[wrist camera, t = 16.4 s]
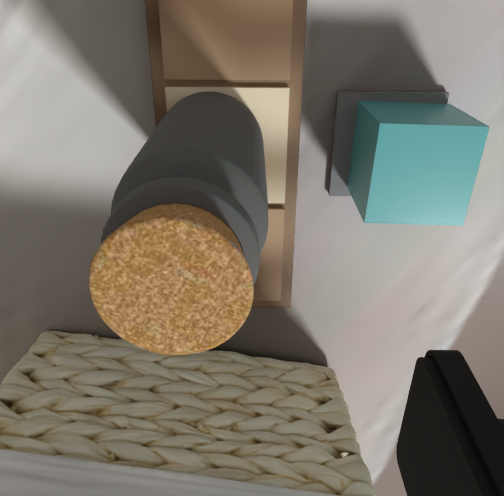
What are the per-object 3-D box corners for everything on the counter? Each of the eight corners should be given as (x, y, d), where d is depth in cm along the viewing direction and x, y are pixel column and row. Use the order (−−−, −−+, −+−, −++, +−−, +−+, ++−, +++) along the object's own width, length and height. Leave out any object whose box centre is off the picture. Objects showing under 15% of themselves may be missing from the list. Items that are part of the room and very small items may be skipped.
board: (140, -87, 23) (135, -90, 22) (310, -86, 23) (312, -89, 22) (173, 301, 33) (171, 308, 32) (289, 301, 33) (290, 309, 32)
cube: (358, 100, 26) (380, 123, 22) (449, 103, 26) (489, 126, 22) (347, 186, 29) (364, 222, 24) (430, 189, 29) (462, 225, 24)
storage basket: (33, 459, 41) (-68, 678, 28) (19, 305, 33) (-129, 506, 20) (308, 487, 43) (332, 705, 30) (354, 346, 35) (414, 556, 22)
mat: (337, 91, 26) (338, 92, 26) (446, 91, 26) (449, 93, 26) (328, 193, 29) (329, 195, 29) (427, 193, 29) (429, 196, 29)
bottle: (137, 141, 27) (24, 287, 14) (211, 65, 25) (165, 151, 12) (211, 211, 29) (175, 400, 16) (285, 147, 27) (316, 299, 14)
